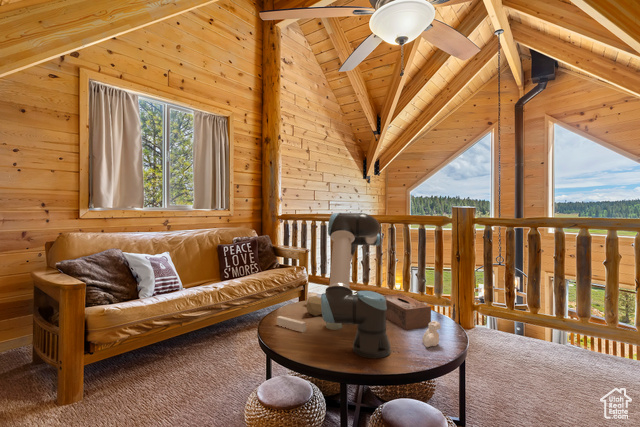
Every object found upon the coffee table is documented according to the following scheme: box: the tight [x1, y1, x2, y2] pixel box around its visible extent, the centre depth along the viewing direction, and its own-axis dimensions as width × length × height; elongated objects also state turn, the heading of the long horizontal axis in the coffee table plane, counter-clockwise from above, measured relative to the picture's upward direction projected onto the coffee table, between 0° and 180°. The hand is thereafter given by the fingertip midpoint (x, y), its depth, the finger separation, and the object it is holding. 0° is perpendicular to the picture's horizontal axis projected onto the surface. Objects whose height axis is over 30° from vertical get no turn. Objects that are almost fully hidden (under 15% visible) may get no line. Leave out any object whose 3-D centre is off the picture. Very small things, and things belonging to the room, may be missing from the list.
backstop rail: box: [276, 315, 307, 333], centre depth 155 cm, size 2×16×4 cm, turn 56°
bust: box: [421, 320, 442, 348], centre depth 137 cm, size 12×8×11 cm
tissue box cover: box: [382, 293, 432, 331], centre depth 168 cm, size 26×14×10 cm, turn 20°
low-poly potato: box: [305, 295, 322, 317], centre depth 175 cm, size 15×11×12 cm
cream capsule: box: [306, 292, 318, 303], centre depth 191 cm, size 6×6×7 cm
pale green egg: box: [325, 322, 343, 331], centre depth 157 cm, size 8×8×9 cm
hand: (330, 293), depth 185 cm, fingers closed
